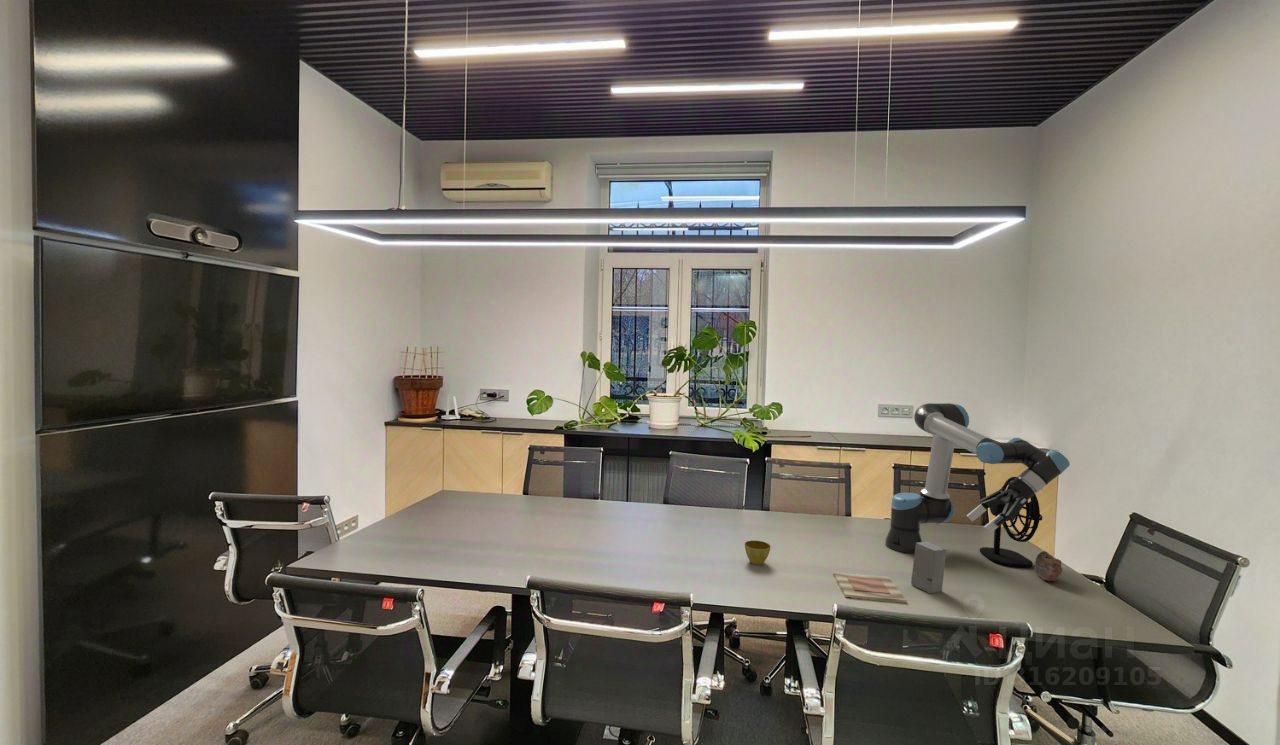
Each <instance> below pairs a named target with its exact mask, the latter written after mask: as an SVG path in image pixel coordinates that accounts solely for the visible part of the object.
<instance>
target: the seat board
mask: <svg viewBox="0 0 1280 745" xmlns="http://www.w3.org/2000/svg"><path fill="white" fill-rule="evenodd" d="M832 573H833V574H832V575H834V576H833V577H834V579H835V581H836V584H837V585H838V586H839V589H840V591H841V590H842V591H841V592H843V593H842V594H844V595H843V597H844V598H846V597H853V598H852V599H857V598H863V599H862V600H867V599H870V600H871V601H879V602H881V601H882V602H888V603H889V602H891V603H903V604H907V598H906V597H905V596H904V595H903V594H902V592H901V591H900V590H899V589H898V587H897V585H895V583H894V582H893V581H892V579H891V578H890V577H889V576H883V575H881V576H880V575H869V574H856V573H848V572H837V571H834V572H832Z"/></svg>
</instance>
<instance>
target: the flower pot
mask: <svg viewBox="0 0 1280 745" xmlns="http://www.w3.org/2000/svg"><path fill="white" fill-rule="evenodd" d="M771 548H772V547H771V544H769V543H768V542H766V541H761V540H747V541H745V542H744V549H745V553H746V556H747V558H748V560H749V563H751V564H753V565H755V566H756V565H757V566H759V565H763V564H764V563H765V562H766V560H767V559H768V557H769V555H770V551H771Z"/></svg>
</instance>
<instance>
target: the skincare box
mask: <svg viewBox="0 0 1280 745" xmlns="http://www.w3.org/2000/svg"><path fill="white" fill-rule="evenodd" d="M947 551H948V550H947V549H946V548H944V547H942V546H939V545H937V544H934V543H932V542H929V541H922V542H918V543H916V547H915V553H914V556H913V557H914V558H913V564H912V573H911V581H910V583H911V586H913V587H916V588H918V589H920V590H922V591H924V592H927V593H929V594H933V593H940V592H942V591H943V586H944V585H943V584H944V575H945V567H946V558H947Z"/></svg>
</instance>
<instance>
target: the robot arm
mask: <svg viewBox="0 0 1280 745" xmlns="http://www.w3.org/2000/svg"><path fill="white" fill-rule="evenodd" d="M913 416H914V423H915V424H916V426H917V427H918V428H919V429H920V430H923V431H924V432H925V433H928V434H931V435H932V436H933V437H932V441H931V447H930V455H929V460H928V467H927V473H926V480H925V485H924V486H925V487H924V488H922V489H920V493H919V494H918V493H914V492H899V493H896V494H894V495H893V496H892V499H891V506H890V507H891V509H890V510H891V512H890V527H889V531H887V532H888V533H887V535H886V537H885V542H884V544H885V546H886V547H887V548H889V549H892V550H894V551H897V552H901V553H902V552H903V553H907V554H915V547H916V543H918V542H923V540H922V536H921V524H922V525H923V524H925V525H926V524H936V525H937V524H938V525H939V524H943V523H947V522H949V521H951V519H952V518H953V516H954V514H955V505H954V502H953V501H952V499H951V495H950V494H949V493H948V487H949V479H950V474H951V468H952V463H953V456H954V450H955V445H957V446H958V447H961V448H963V449H965V450H966V451H969V452H971V453H972V454H975V455H976V458H978V460H979V461H980V462H981V463H982V464H983V463H984V464H990V465H996V464H997V465H998V464H1022V465H1024V466H1025V467H1027V468H1025V469H1024V470H1023V472H1021V473H1020V474H1018V475H1017V477H1018V478H1015V479H1014V480H1013V481H1011V482H1010V483H1009V485H1008V486H1009V487H1010V489H1008V490H1007V488H1006V489H1005V488H1004V487H1003V486H1002V487H1003V488H1002V487H1001V488H999V489H998V490H997V491H994V492H992V493H991V494H989V495H986V496H985V497H983V498H981V499H979V501H978V502H979V504H978V505H977V506H976V507H975V508H974V509H972V510H971V511H970V512H969V513H967V515H966V517H967V518H968V519H969V520H970V522H974V521H975V520H977V519H978V518H979V517H980V516H982V515H983V514H984V513H985V512H987V511H988V510H989V509H990V507H993V506H995V505H998V504H1001V503H1002V504H1006V505H1005V507H1004V510H1003V512H1002V513H1000V515H1001V516H1002V517H1001V516H1000V515H998V516H997V517H995V516H994V518H993V519H991V520H990V521H989V522H987V523H986V524H985V525H984V526H983V528H985V530H986V531H987V532H989V534H991V533H993V532H994V531H995V529H997V528H998V527H999V526H1000V525H1001V526H1003V525H1002V524H1003V523H1004V522H1005V521H1006V522H1010V521H1011V522H1012V521H1013V522H1014V520H1015V518H1016V516H1017V515H1018V513H1019V512H1021V510H1022V509H1023V508H1022V507H1023V506H1024V507H1025V506H1026V505H1025V504H1026V503H1027V502H1028V503H1029V500H1031V497H1032V496H1033V495H1035V494H1036V493H1038V492H1039V491H1041V490H1043V489H1044V487H1045V486H1047V485H1048V484H1049V483H1051V482H1052V481H1053V480H1054V479H1056V478H1057V477H1058V476H1060V475H1061V474H1063V472H1065V471H1066V469H1067V468H1069V467H1070V465H1071V464H1070V461H1069V459H1068V458H1067V456H1065V455H1064V454H1062V453H1061V452H1060V451H1058V450H1056V449H1050V450H1048V451H1046V452H1045V451H1044V450H1041V449H1039V448H1038V447H1036V446H1035V445H1033V444H1032V443H1030V442H1029V441H1027V440H1025V439H1023V438H1020V437H1013V438H1012V439H1009V440H1008V441H1006V442H1003V441H1001V442H999V441H997V440H995V439H994V440H993V439H991V438H990V437H987V436H985V435H983V434H981V433H979V432H976V431H974V430H973V429H970V428H968V426H969V423H970V417H969V414H968V412H967V410H966V408H964V407H963V406H962V405H961V404H956V403H949V402H947V403H943V402H942V403H934V402H931V403H928V402H927V403H923V404H921V405H920V406H919V407H918V408H917V409H916V410H915V412H914V414H913ZM1027 500H1028V501H1027ZM1011 516H1012V517H1011ZM1011 522H1010V523H1011Z"/></svg>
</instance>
